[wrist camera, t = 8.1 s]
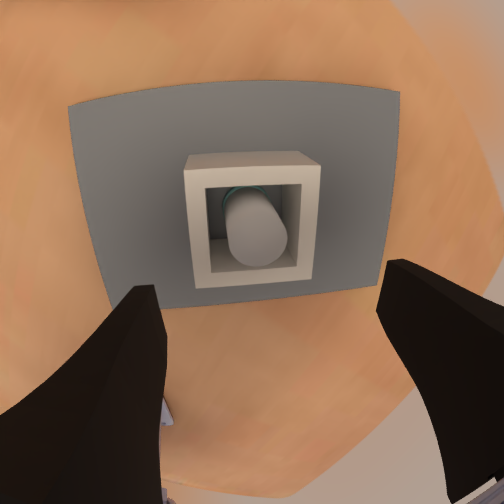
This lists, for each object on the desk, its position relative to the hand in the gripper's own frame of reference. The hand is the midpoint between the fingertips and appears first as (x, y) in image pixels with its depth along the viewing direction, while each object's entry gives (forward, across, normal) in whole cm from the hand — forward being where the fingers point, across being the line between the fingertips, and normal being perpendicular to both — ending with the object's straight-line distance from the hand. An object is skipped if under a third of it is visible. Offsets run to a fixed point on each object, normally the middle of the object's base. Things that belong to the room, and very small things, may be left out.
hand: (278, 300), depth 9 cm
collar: (+8, 0, 0) cm, 8 cm away
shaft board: (+9, 0, 0) cm, 9 cm away
